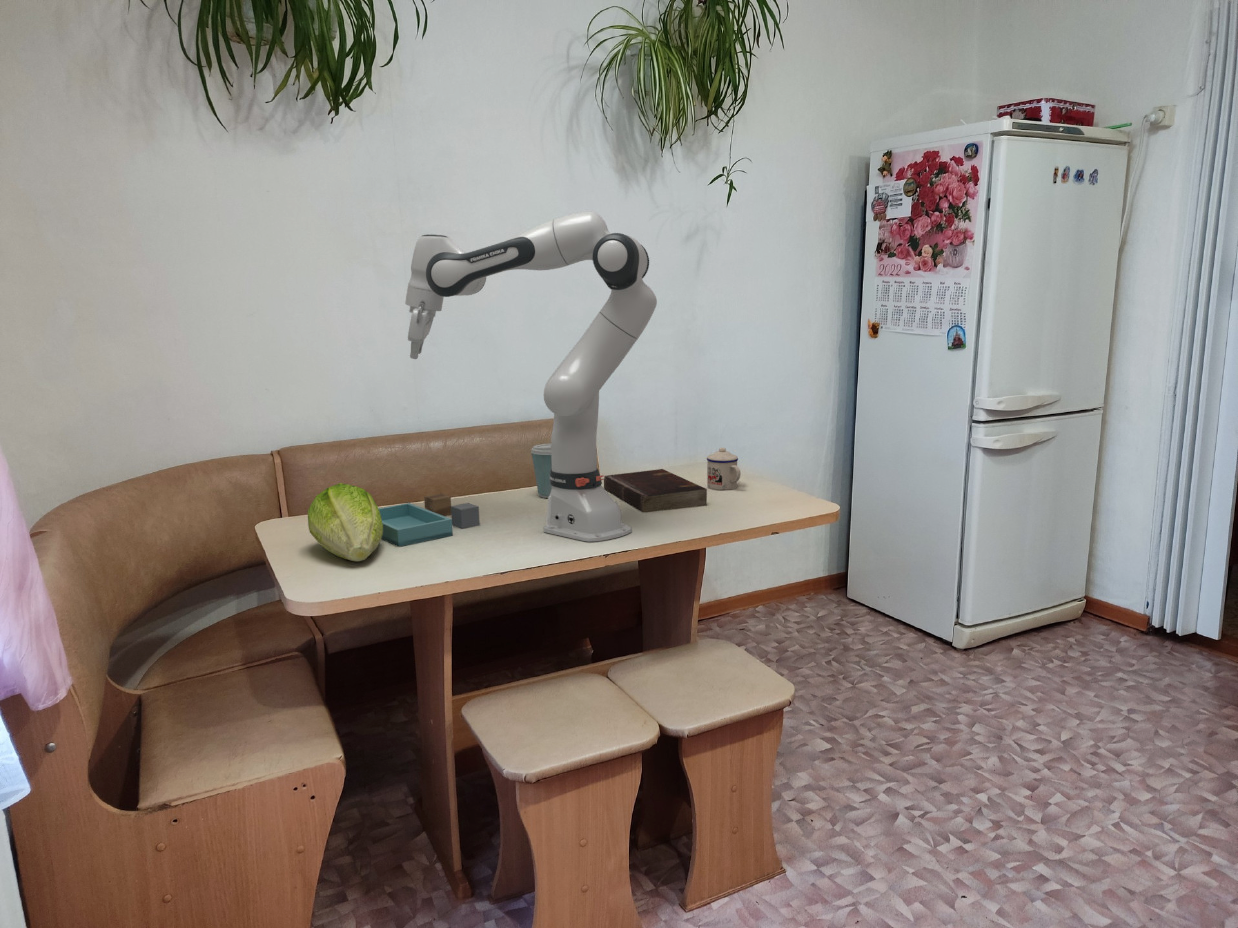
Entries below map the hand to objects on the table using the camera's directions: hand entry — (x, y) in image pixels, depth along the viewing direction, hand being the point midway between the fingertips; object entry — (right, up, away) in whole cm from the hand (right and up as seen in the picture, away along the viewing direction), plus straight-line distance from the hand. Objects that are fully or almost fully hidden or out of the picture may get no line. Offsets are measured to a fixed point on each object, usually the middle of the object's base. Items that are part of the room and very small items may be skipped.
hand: (415, 355), depth 217 cm
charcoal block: (+12, -42, 0) cm, 44 cm away
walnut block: (+3, -40, +11) cm, 42 cm away
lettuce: (-10, -47, -21) cm, 53 cm away
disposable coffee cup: (+31, -36, +30) cm, 57 cm away
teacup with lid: (+82, -34, +37) cm, 96 cm away
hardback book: (+60, -37, +27) cm, 76 cm away
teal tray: (-2, -43, -5) cm, 44 cm away
